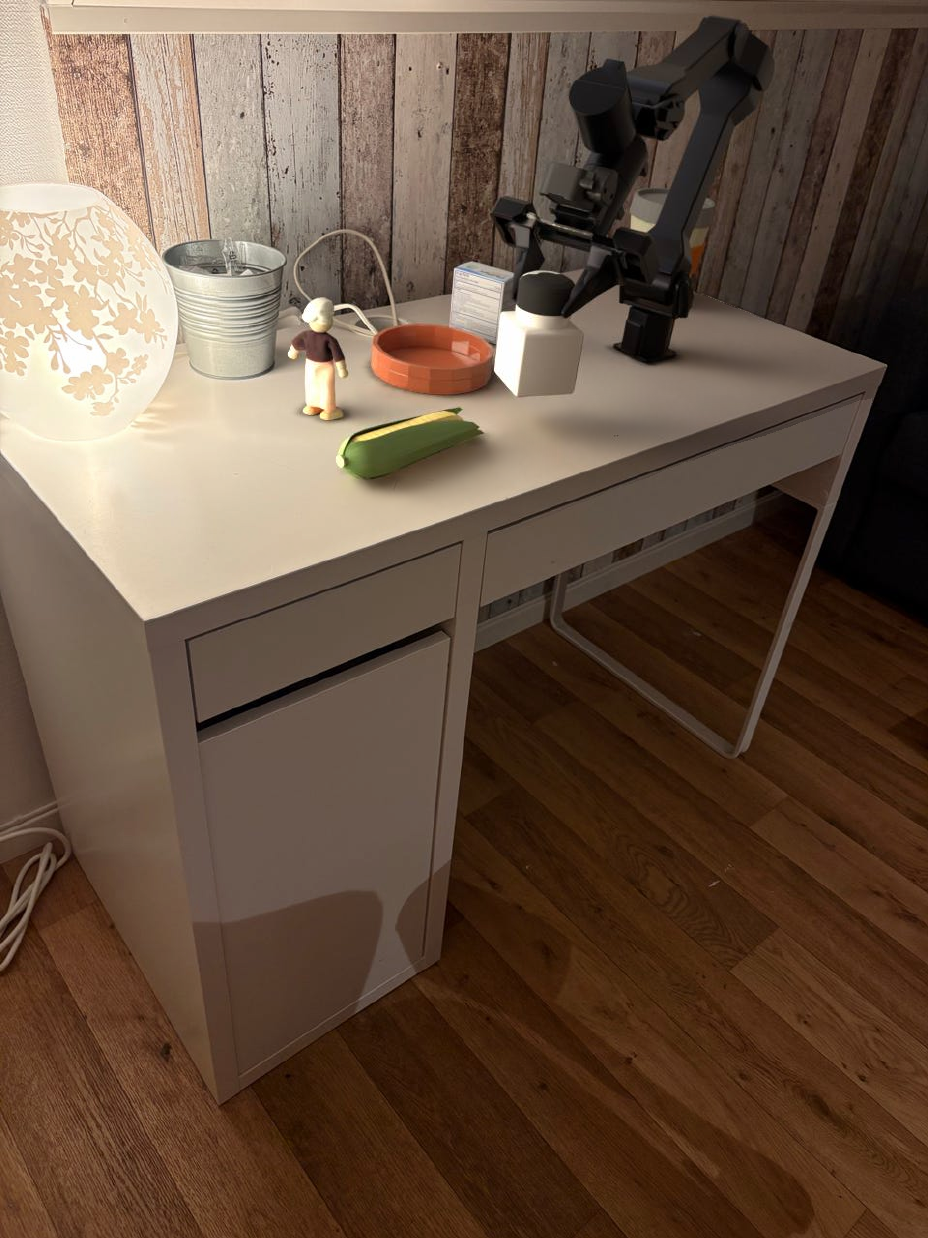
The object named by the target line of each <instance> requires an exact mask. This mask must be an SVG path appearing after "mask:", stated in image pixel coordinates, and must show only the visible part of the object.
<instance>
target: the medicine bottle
mask: <svg viewBox="0 0 928 1238" xmlns="http://www.w3.org/2000/svg"><path fill="white" fill-rule="evenodd" d="M575 284H576V282H574V281H573V279H571V278H570V277H568V276H567V275H565V274H563V273H560V272H557V271H551V270H539V271H533V272H529V273H526V274H524V275H523V276H522V277H521V278H520V279H519V286H518V294H517V302H516V311H503V312H502V313H501V315H500V323H499V332H498V341H497V345H496V348H495V349H496V350H495V357H494V368H493V371H494V373H495V375H496V376H497V377H498V378H499V379H500V380H501V381H502V382H503V383H504V385H505V386H506V387H507V388H508V389H509V390H510V392H511V393H512V394H513V395H514V396H515V397H516V398H525V397H543V396H546V397H547V396H562V395H563V396H564V395H572V394H574V393H575V389H576V384H577V377H578V372H579V365H580V360H581V355H582V349H583V342H584V337H585V333H584V332H583V330H581V329H580V327H578V326H577V325H576V324H575V323H574V322H572V321H571V319H572V315H571V316H570V317H568V318H567V319H565V318H563V317H562V314H561V312H562V309H563V307H564V305H565V302H566V300H567V298H568V297H569V295H570V293H571V291H572V290H573V288H574V286H575Z"/></svg>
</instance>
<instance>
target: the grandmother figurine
mask: <svg viewBox="0 0 928 1238" xmlns="http://www.w3.org/2000/svg"><path fill="white" fill-rule="evenodd" d="M334 315H335V304H333V301H332V300H331V299H328V298H326V297H325V296H323V297H317V298H314V299H312V300H311V301H310V302H309V303H308V304H307V306H306V307H305V308H304V311H303V314H302V315H301V317H302V321H304V322H305V323H308V324H309V326H310V328H311V329H307V330H304V331H301V332H300V333H298V334H297V335H296V336H294V338H292V339H291V341H290V342H291V345H290V349H289V351H288V352H287V355H288V357H289V358H290V359H292V360H295V359H297V357H298V355H299V353H300V352H301V351H305V370H304V371H305V372H304V388H305V403H306V406H305V407H304V408H303V410H302V412H303V413H304V414H305V415H309V416H314V415H317V414H319V413H320V414H319V418H320V419H322V420H324V421H333V420H337V419H340V418H343V417H344V412H343V410H342V409H341V408H340V407H338V406H337V400H336V370H335V366H336V368H337V370H338V377H339V378H341V379H346V378H347V377H348V376H349V370H348V369H347V362H346V357H345V354H344V352H343V349H342V348H341V345H340V342H339V341H338V339H337V338H336V337H335V336H333V335H331V334H330V333H328V331H329V330H331V328H332V327H333V325H334Z"/></svg>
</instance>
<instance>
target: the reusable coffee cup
mask: <svg viewBox="0 0 928 1238" xmlns="http://www.w3.org/2000/svg"><path fill="white" fill-rule="evenodd" d="M669 190H670V188H666V187H664V188H663V187H644V188H640V189H636V190H635V191H634V195H633V198H632V201H631V206H630V209H629V214H630V215H631V216H630V217H631V218H630V227H629V228H630V229H634V230H637V231H642V232H648V231H649V230H650V229H651V228H652V227H654V226H655V225H656V223H657V220H658V218H659V215H660V213H661V210H662V208H663V205H664V203H665V200H666V198H667V195H668V192H669ZM715 207H716V203H715V202H714V200H712V199H710V198H708V197H706V200H705V202H704V205H703V207H702V210H701V212H700V215H699V217H698V220H697V222H696V225H695V227H694V230H693V232H692V235H691V237H690V240H689V242H690V249H691V256H692V263H693V265H692V269H691V272H690V279H691V278H692V275H694V274H696V271H697V269H698V266H699V263H700V260H701V258H702V255H703V252H704V249H705V247H706V244H707V243H706V241H705V238H706V236H707V235H708V231H709V228H710V227H711V226H713V221H714V214H715Z"/></svg>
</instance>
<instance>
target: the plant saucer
mask: <svg viewBox="0 0 928 1238" xmlns="http://www.w3.org/2000/svg"><path fill="white" fill-rule="evenodd" d="M372 338H373V339H372V343H371V362H370V363H371V364H370V365H371V369H372V372H373V373H374V375H376V376H377V377H378V378H379V379H380V380H382V381H383V382H385V383H387V384H389V385H391V386H393V387H395V388H399V389H402V390H406V391H409V392H415V393H420V394H426V395H427V394H429V395H459V394H465V393H469V392H473V391H476V390H479V389H481V388H483V387H484V386H486V385H487V384H488V383H489V381H490V380H491V378H492V371H493V363H494V362H493V361H494V347H493V346H492V345H491V343H490V342H487V341H486V340H485V339H483V338H481V337H479V336H477V335H476V334H474V333H471V332H468V331H465V330H461V329H458V328H454V327H449V326H447V325H441V324H437V323H436V324H435V323H408V324H398V325H393V326H390V327H385V328H384V329H381V330H379V332H377V333H376V334H374V336H373V337H372Z"/></svg>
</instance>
